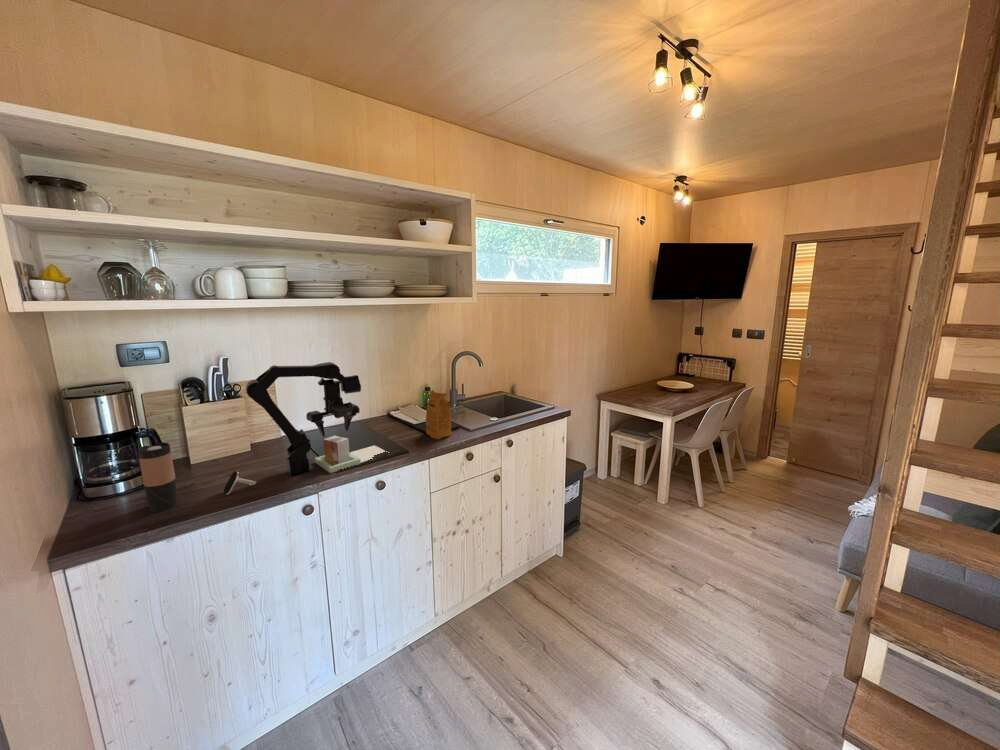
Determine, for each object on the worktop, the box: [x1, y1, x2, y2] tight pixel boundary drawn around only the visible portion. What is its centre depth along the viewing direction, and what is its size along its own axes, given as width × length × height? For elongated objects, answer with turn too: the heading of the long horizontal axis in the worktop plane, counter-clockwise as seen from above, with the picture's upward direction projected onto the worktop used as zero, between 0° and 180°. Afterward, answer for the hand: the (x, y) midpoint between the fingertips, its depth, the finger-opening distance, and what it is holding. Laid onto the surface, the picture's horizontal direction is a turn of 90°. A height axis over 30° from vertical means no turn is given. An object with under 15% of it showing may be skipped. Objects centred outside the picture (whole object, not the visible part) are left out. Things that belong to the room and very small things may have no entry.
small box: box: [323, 435, 350, 465], centre depth 158 cm, size 8×6×10 cm
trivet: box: [349, 445, 390, 463], centre depth 168 cm, size 13×13×1 cm
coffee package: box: [425, 388, 452, 440], centre depth 190 cm, size 10×12×22 cm
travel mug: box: [137, 442, 179, 513], centre depth 125 cm, size 8×8×20 cm
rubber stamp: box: [223, 471, 257, 496], centre depth 137 cm, size 8×5×8 cm
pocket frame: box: [314, 453, 362, 474], centre depth 159 cm, size 12×14×2 cm
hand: (335, 433), depth 157 cm, fingers open, 9 cm apart
